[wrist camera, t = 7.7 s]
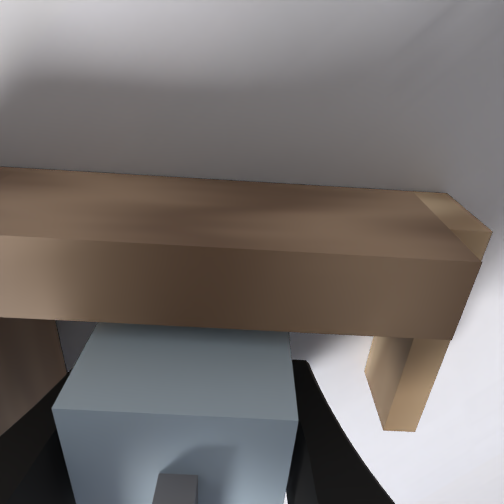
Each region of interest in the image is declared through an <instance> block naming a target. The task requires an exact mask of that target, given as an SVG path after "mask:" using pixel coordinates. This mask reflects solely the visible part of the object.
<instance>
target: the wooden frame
mask: <svg viewBox="0 0 504 504" xmlns="http://www.w3.org/2000/svg"><path fill="white" fill-rule="evenodd" d="M491 235H492V231H491V230H490V229H489V228H488V227H486V226H485V225H484V224H483V223H482V222H480V221H479V220H478V219H477V218H476V217H475V216H473V215H472V214H471V213H470V212H469V211H467V210H466V209H465V208H464V207H463V206H461V205H460V204H459V203H458V202H457V201H456V200H454V199H453V198H452V197H451V196H450V195H448V194H447V193H433V192H416V191H400V190H383V189H366V188H349V187H333V186H316V185H299V184H282V183H266V182H249V181H232V180H215V179H199V178H182V177H165V176H148V175H132V174H115V173H98V172H81V171H65V170H48V169H31V168H14V167H0V436H1V435H2V434H3V433H4V432H5V431H7V430H8V429H9V428H10V427H11V426H12V425H13V424H14V423H16V422H17V421H18V420H19V419H20V418H21V417H22V416H24V415H25V414H26V413H27V412H28V411H29V410H30V409H31V408H32V407H33V406H34V405H36V404H37V403H38V402H39V401H40V400H41V399H42V398H43V397H44V396H45V395H46V394H47V393H48V392H49V391H50V390H51V389H52V388H53V387H54V386H55V385H56V384H57V383H58V382H59V381H60V380H61V379H62V378H63V377H64V376H65V375H66V374H67V371H66V367H65V362H64V358H63V353H62V349H61V344H60V340H59V335H58V331H57V326H56V322H55V320H66V321H86V322H105V323H125V324H144V325H164V326H183V327H203V328H222V329H241V330H261V331H280V332H300V333H319V334H339V335H358V336H374V337H373V341H372V344H371V348H370V352H369V356H368V359H367V363H366V367H365V371H364V372H365V375H366V378H367V381H368V384H369V387H370V390H371V393H372V397H373V400H374V403H375V406H376V409H377V412H378V415H379V418H380V421H381V425H382V428H383V430H385V431H407V432H415V430H416V428H417V425H418V423H419V420H420V417H421V415H422V412H423V410H424V407H425V405H426V402H427V399H428V397H429V394H430V392H431V389H432V387H433V384H434V381H435V379H436V376H437V374H438V371H439V369H440V366H441V363H442V361H443V358H444V356H445V353H446V351H447V348H448V345H449V343H450V340H452V338H453V336H454V333H455V331H456V328H457V325H458V323H459V320H460V318H461V315H462V313H463V310H464V308H465V305H466V302H467V300H468V297H469V295H470V292H471V290H472V287H473V284H474V282H475V279H476V277H477V274H478V272H479V269H480V267H481V264H482V262H481V260H482V258H483V255H484V253H485V250H486V247H487V245H488V242H489V240H490V237H491Z"/></svg>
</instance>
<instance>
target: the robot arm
mask: <svg viewBox="0 0 504 504" xmlns="http://www.w3.org/2000/svg"><path fill="white" fill-rule="evenodd" d="M292 366H293V375H294V384H295V393H296V402H297V411H298V420H299V421H298V426H297V432H296V437H295V443H294V448H293V454H292V459H291V465H290V470H289V476H288V481H287V487H286V493H287V501H288V504H395V503H394V502H393V500H392V499H391V498H390V496H389V495H388V494H387V493H386V491H385V490H384V489H383V488H382V486H381V485H380V484H379V482H378V481H377V480H376V478H375V477H374V476H373V474H372V473H371V472H370V470H369V469H368V467H367V466H366V465H365V463H364V462H363V460H362V459H361V457H360V456H359V454H358V453H357V451H356V450H355V448H354V447H353V445H352V444H351V442H350V441H349V439H348V437H347V436H346V434H345V433H344V431H343V429H342V428H341V426H340V424H339V422H338V421H337V419H336V417H335V415H334V414H333V412H332V410H331V408H330V407H329V405H328V403H327V401H326V399H325V397H324V395H323V393H322V391H321V389H320V387H319V385H318V383H317V381H316V379H315V377H314V374H313V372H312V370H311V367H310V365H309V363H308V362H307V361H306V360H292ZM73 368H74V367H73ZM73 368H72V369H73ZM72 369H71V370H70V371H69V372H68V373H67V374H66V375H65V376H64V377H63V378H62V379H61V380H60V381H59V382H58V383H57V384H56V385H55V386H54V387H53V388H52V389H51V390H50V391H49V392H48V393H47V394H46V395H45V396H44V397H43V398H42V399H41V400H40V401H39V402H38V403H37V404H36V405H34V406H33V407H32V408H31V409H30V410H29V411H28V412H27V413H26V414H25V415H24V416H22V417H21V418H20V419H19V420H18V421H17V422H16V423H14V424H13V425H12V426H11V427H10V428H9V429H8V430H7V431H5V432H4V433H3V434H2V435H1V436H0V504H76V501H75V497H74V493H73V489H72V485H71V482H70V478H69V474H68V470H67V466H66V462H65V459H64V455H63V451H62V447H61V443H60V439H59V435H58V432H57V428H56V424H55V420H54V416H53V412H52V407H53V405H54V403H55V401H56V399H57V397H58V395H59V394H60V392H61V390H62V388H63V386H64V384H65V382H66V381H67V379H68V377H69V375H70V373H71V371H72Z"/></svg>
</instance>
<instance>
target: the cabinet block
mask: <svg viewBox="0 0 504 504" xmlns="http://www.w3.org/2000/svg"><path fill="white" fill-rule="evenodd" d="M52 412H53V416H54V420H55V424H56V428H57V432H58V435H59V439H60V443H61V447H62V451H63V455H64V459H65V462H66V466H67V470H68V474H69V478H70V482H71V485H72V489H73V493H74V497H75V501H76V504H283V503H284V498H285V492H286V487H287V481H288V476H289V470H290V465H291V459H292V454H293V448H294V443H295V437H296V432H297V426H298V421H299V420H298V411H297V402H296V393H295V384H294V375H293V366H292V357H291V348H290V339H289V332H280V331H261V330H241V329H222V328H203V327H183V326H164V325H144V324H125V323H105V322H98V323H97V325H96V327H95V328H94V330H93V332H92V334H91V336H90V338H89V340H88V341H87V343H86V345H85V347H84V349H83V351H82V353H81V355H80V356H79V358H78V360H77V362H76V364H75V366H74V368H73V369H72V371H71V373H70V375H69V377H68V379H67V381H66V382H65V384H64V386H63V388H62V390H61V392H60V394H59V395H58V397H57V399H56V401H55V403H54V405H53V407H52Z"/></svg>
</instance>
